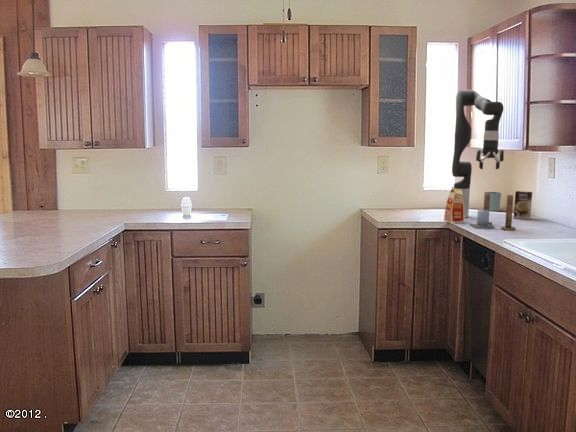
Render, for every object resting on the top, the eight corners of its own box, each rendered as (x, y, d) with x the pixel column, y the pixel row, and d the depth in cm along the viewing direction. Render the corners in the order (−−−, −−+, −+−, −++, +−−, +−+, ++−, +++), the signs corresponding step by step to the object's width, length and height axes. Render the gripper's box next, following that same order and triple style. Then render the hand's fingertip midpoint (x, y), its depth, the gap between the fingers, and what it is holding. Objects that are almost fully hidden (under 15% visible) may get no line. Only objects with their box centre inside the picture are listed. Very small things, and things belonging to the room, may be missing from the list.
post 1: (477, 223, 316) (478, 191, 313) (489, 223, 316) (491, 191, 314) (481, 225, 309) (483, 192, 306) (494, 225, 309) (496, 192, 307)
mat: (469, 225, 309) (469, 223, 309) (487, 225, 310) (487, 223, 310) (476, 228, 300) (476, 226, 299) (494, 228, 300) (494, 226, 300)
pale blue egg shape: (475, 224, 307) (476, 209, 306) (485, 224, 307) (486, 210, 306) (478, 226, 302) (479, 211, 301) (489, 226, 302) (490, 211, 301)
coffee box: (513, 218, 334) (514, 191, 332) (514, 217, 340) (516, 190, 338) (529, 219, 330) (531, 192, 328) (530, 218, 336) (532, 191, 333)
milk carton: (451, 223, 318) (453, 187, 315) (443, 220, 326) (444, 186, 323) (466, 222, 320) (467, 187, 317) (457, 220, 329) (458, 185, 326)
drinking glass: (501, 210, 370) (502, 192, 368) (498, 212, 362) (499, 193, 360) (485, 209, 375) (486, 191, 374) (482, 211, 367) (483, 192, 365)
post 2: (498, 228, 300) (500, 194, 298) (511, 228, 300) (514, 194, 298) (504, 230, 293) (506, 196, 291) (517, 230, 294) (519, 196, 291)
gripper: (501, 139, 309) (499, 168, 311) (475, 139, 308) (473, 168, 311) (506, 139, 301) (504, 169, 304) (480, 139, 301) (478, 169, 304)
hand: (489, 169), depth 308 cm, fingers open, 8 cm apart
